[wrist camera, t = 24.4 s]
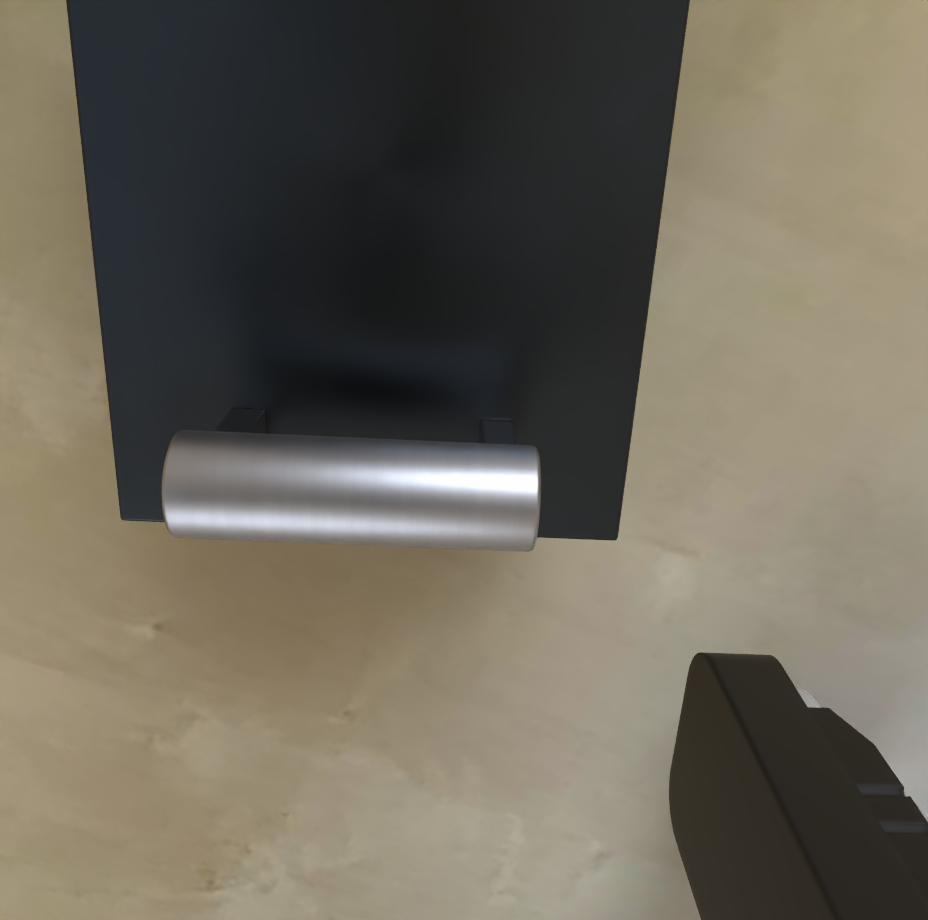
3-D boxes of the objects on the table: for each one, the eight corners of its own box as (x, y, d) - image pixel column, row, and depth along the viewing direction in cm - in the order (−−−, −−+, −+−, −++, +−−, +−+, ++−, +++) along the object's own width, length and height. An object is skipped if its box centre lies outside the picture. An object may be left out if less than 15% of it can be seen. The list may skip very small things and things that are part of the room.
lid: (611, 526, 19) (661, 648, 14) (132, 505, 18) (31, 625, 14) (717, -285, 14) (850, -491, 9) (49, -336, 13) (-156, -577, 9)
